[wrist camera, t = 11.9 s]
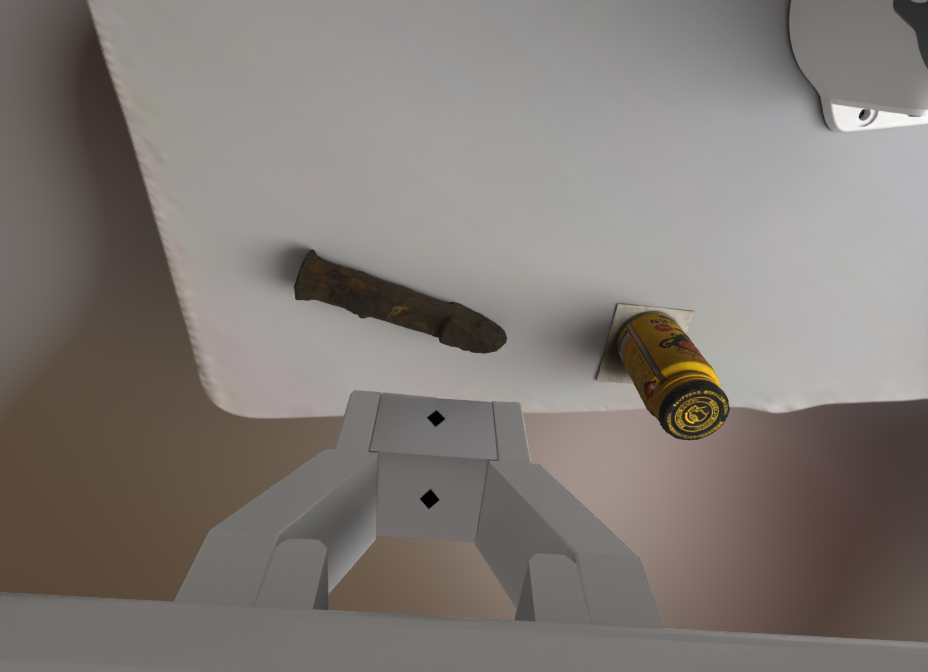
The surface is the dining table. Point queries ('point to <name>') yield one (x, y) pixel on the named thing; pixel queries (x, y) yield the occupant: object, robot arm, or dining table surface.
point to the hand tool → (396, 305)
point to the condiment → (665, 370)
